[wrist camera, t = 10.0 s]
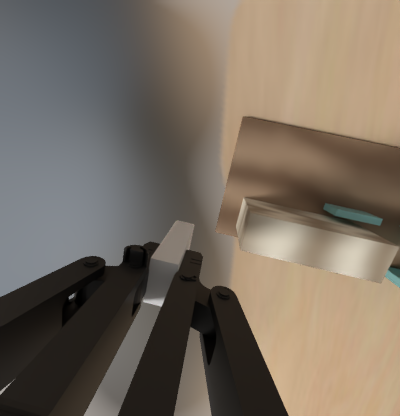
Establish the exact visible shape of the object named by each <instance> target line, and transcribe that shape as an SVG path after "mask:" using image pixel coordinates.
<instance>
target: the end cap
mask: <svg viewBox="0 0 400 416" xmlns="http://www.w3.org/2000/svg"><path fill="white" fill-rule="evenodd" d="M323 209H324V210H326V211H327V212H329V213H331V214H333V215H334V216H338V217H343V218H347V219H352V220H356V221H360V222H365V223H369V224H374V225H378V226H380V225H381V222H382V220H383V219H381V218H379V217H377V216H374V215H372V214H369V213H367V212H364V211H359V210H355V209H350V208H346V207H341V206H336V205H332V204H327V203H325V205H324V208H323Z"/></svg>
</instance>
